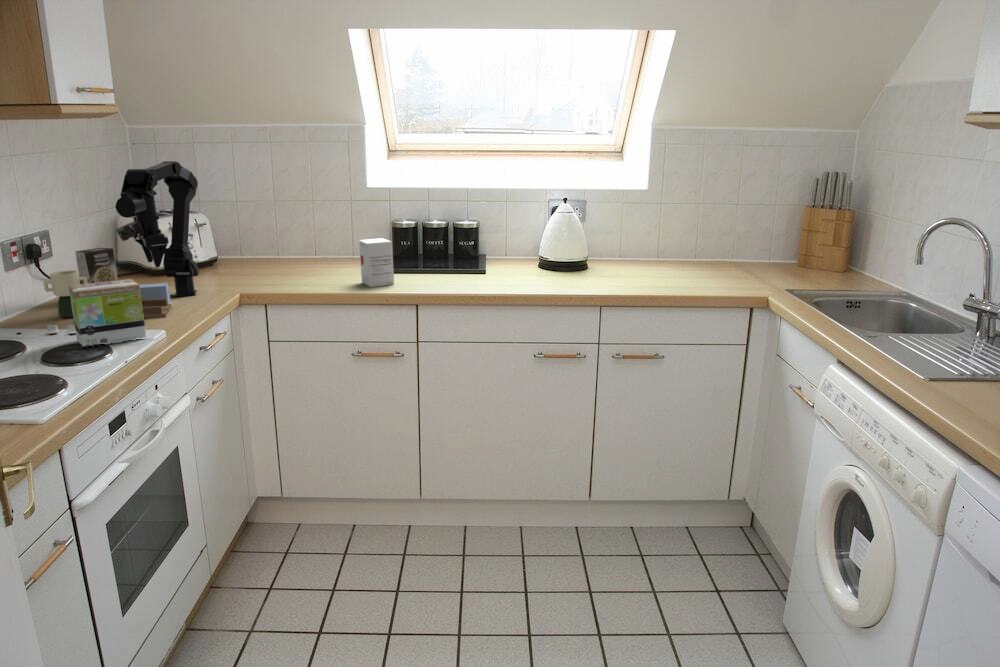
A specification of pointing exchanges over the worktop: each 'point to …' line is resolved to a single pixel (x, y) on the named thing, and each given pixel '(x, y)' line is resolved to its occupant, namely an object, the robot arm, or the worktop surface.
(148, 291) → the pale blue cuboid
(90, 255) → the coffee box
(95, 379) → the worktop surface
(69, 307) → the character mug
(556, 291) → the worktop surface
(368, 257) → the supplement box
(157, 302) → the walnut rack
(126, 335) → the tea box
